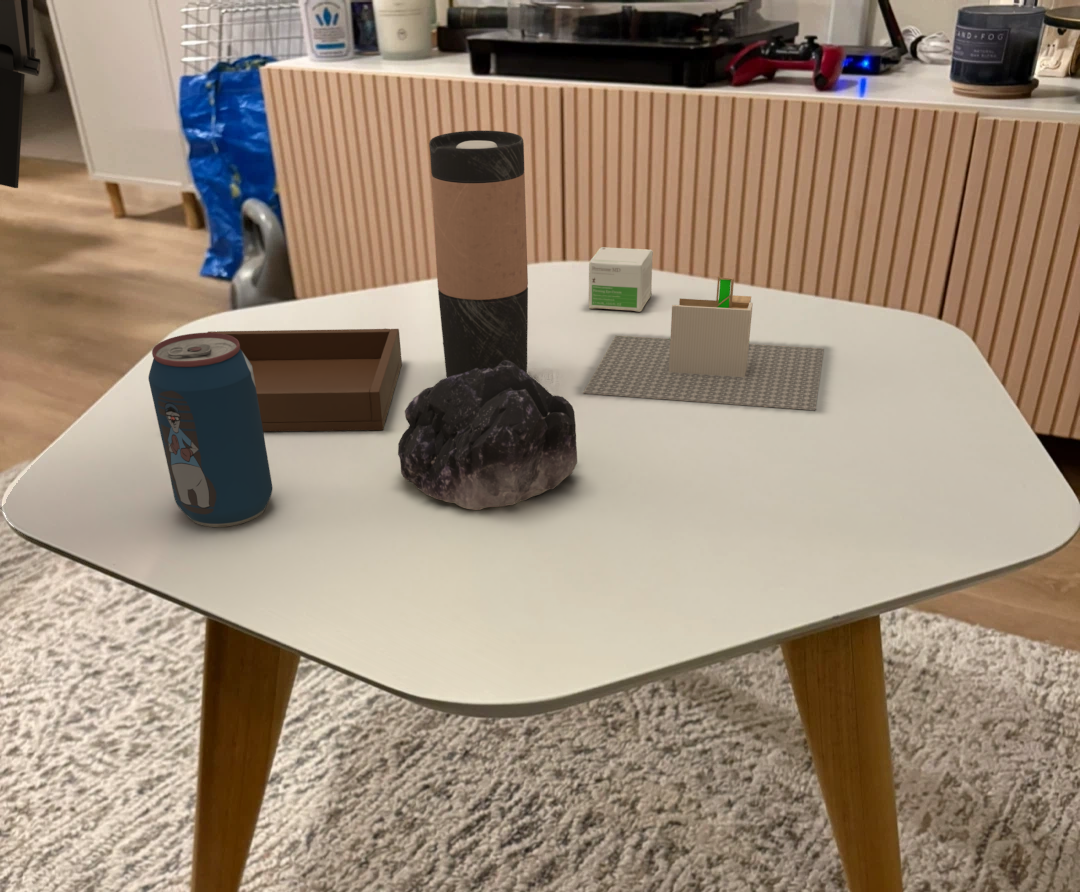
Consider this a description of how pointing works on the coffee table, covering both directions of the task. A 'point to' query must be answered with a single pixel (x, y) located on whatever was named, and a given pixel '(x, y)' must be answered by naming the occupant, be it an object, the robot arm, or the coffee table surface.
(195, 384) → the soda can
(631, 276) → the small box
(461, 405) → the crystal cluster
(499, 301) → the travel mug
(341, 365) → the tray
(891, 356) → the coffee table surface
